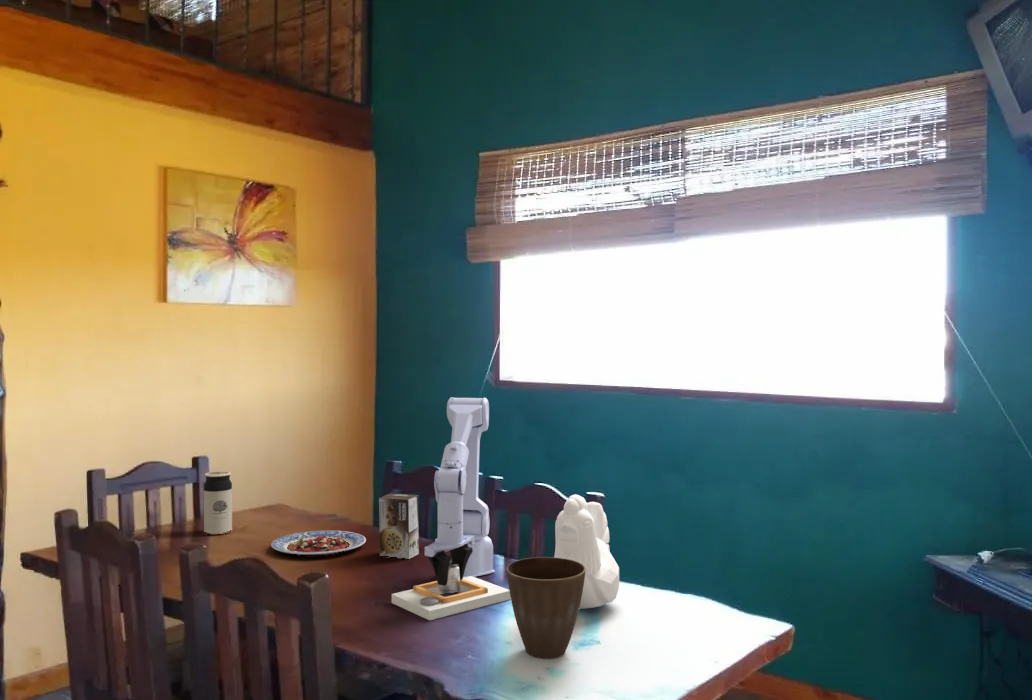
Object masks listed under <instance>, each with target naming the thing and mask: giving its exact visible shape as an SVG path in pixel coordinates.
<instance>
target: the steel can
mask: <svg viewBox="0 0 1032 700" xmlns="http://www.w3.org/2000/svg"><path fill="white" fill-rule="evenodd" d="M458 591H460V565H459V562H458V561H452V560H450V563H449V567H448V579H447V585H445V586H443V585H439V592H441V593H445V594H454V593H459V592H458Z"/></svg>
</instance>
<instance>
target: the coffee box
mask: <svg viewBox="0 0 1032 700" xmlns="http://www.w3.org/2000/svg"><path fill="white" fill-rule="evenodd" d="M378 505H379V506H378V507H379V508H378V512H379V514H378V516H379V522H378V523H379V557H380V556H389V557H388V558H390V557H397V558H396V559H402V558H405V559H404V560H410V559H411V558H412V559H413V558H414V557H416V556H417V555H419V554H420V550H419V547H420V546H419V542H420V541H419V540H420V539H419V538H420V537H419V535H420V534H419V532H420V531H419V528H420V527H419V526H420V525H419V495H418V494H404V493H388V494H385V495H383V496H381V497H379V498H378Z"/></svg>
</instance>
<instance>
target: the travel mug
mask: <svg viewBox="0 0 1032 700" xmlns="http://www.w3.org/2000/svg"><path fill="white" fill-rule="evenodd" d="M231 475H232V472H230V471H228V470H227V471H225V470H224V471H222V470H220V471H210V472H209V471H208V472H206V473H204V476H205V482H204V484H203V533H204V532H207V533H223V532H227V531H230V530H232V531H233V487H232V486H233V484H232V481H231V480H230V477H231Z"/></svg>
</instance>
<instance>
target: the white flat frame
mask: <svg viewBox="0 0 1032 700" xmlns="http://www.w3.org/2000/svg"><path fill="white" fill-rule="evenodd" d="M444 594H446V593H441V592H439V584H438V582H437V580H435V581H431V582H430V581H429V582H426V583H421V584H418V585H413V586H412V589H408V590H402V591H399V592H395V593H391V604H393V605H395V606H398V607H400V608H402V609H404V610H405V611H408V612H410V613H413V614H415V615H417V616H419V617H421V618H422V619H423V618H424V619H426V620H428V621H433V620H437V619H441V618H444V617H445V618H446V617H448V616H451V615H452V616H453V615H456V614H460V613H464V612H469V611H471V610H474V609H475V610H476V609H478V608H479V609H480V608H482V607H487V606H490V605H494V604H497V603H501V602H505V601H509V600H511V596H510V591H509V589H507V588H506V587H502V586H499V585H498V584H497V585H496V584H495V583H494V584H493V583H491V582H489V581H486V580H483V579H481V578H478V577H473V576H468V577H463V579H462V580H460V591H458V592H457V593H456V594H452V595H448V596H444Z"/></svg>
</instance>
